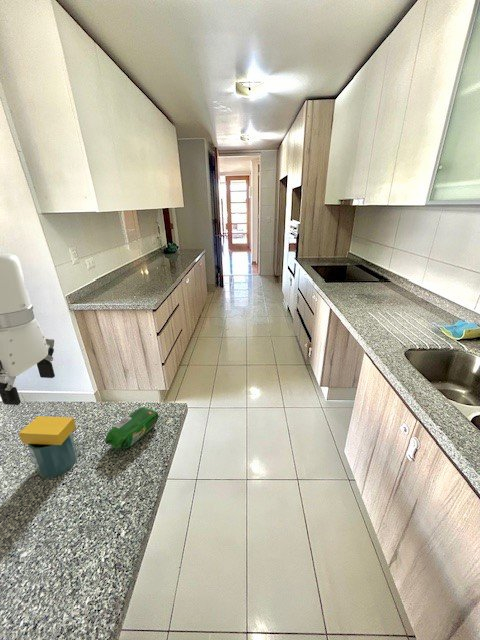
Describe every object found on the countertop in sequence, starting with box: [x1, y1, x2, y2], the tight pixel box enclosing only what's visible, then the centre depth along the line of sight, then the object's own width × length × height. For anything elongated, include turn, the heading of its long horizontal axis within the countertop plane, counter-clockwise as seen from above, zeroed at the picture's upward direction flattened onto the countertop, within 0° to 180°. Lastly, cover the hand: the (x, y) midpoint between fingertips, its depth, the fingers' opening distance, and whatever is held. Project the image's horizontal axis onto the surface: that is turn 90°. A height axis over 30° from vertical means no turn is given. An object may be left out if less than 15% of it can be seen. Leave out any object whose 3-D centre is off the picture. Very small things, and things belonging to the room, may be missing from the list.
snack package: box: [104, 406, 160, 454], centre depth 72 cm, size 7×16×5 cm, turn 152°
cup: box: [27, 432, 79, 479], centre depth 63 cm, size 8×8×9 cm
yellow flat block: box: [18, 415, 77, 445], centre depth 61 cm, size 9×6×3 cm, turn 87°
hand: (31, 389), depth 57 cm, fingers open, 9 cm apart
